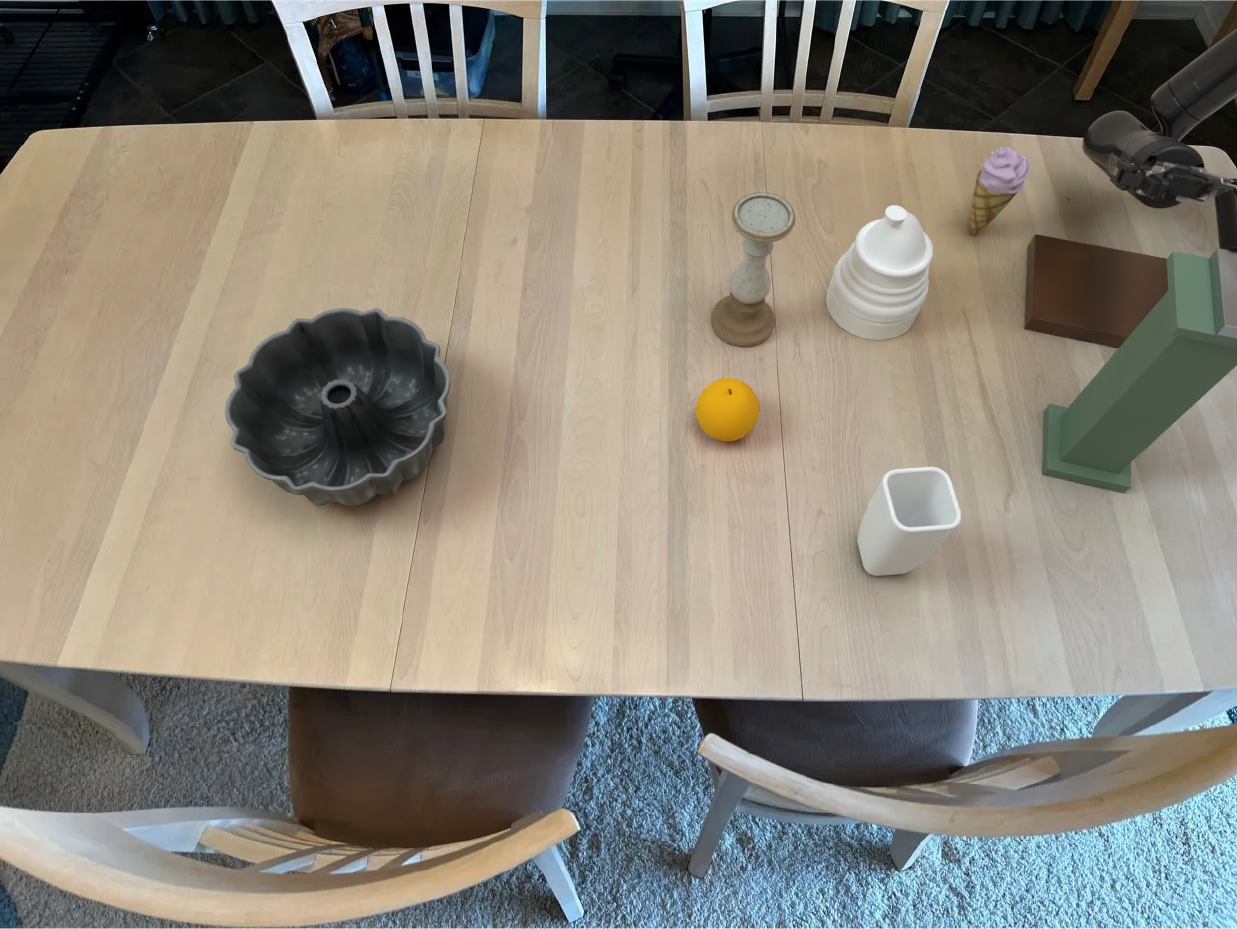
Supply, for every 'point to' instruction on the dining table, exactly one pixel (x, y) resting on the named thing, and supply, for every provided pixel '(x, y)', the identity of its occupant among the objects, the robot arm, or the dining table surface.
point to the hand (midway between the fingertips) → (1203, 198)
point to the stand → (1142, 384)
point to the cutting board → (1090, 290)
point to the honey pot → (882, 277)
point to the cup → (907, 520)
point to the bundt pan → (340, 405)
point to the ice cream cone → (996, 186)
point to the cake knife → (1225, 266)
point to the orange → (727, 409)
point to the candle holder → (752, 270)
